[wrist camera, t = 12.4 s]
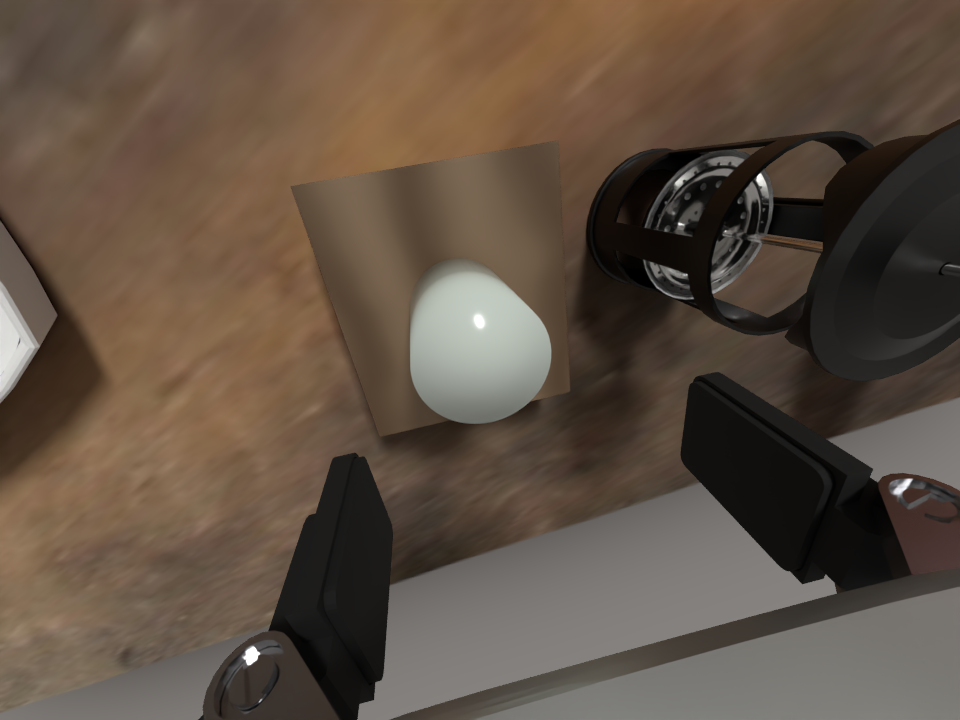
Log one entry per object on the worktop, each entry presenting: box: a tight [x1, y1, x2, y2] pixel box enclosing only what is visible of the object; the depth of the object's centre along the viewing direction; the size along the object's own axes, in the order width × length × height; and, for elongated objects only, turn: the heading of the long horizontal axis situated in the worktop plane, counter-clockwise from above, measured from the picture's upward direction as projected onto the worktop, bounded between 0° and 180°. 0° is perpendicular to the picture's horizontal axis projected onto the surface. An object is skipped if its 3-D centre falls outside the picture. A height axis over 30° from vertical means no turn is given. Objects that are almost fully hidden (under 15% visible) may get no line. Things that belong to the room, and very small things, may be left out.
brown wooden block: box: [291, 141, 570, 437], centre depth 25 cm, size 14×16×5 cm
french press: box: [587, 119, 960, 381], centre depth 17 cm, size 12×9×23 cm
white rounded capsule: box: [410, 258, 551, 424], centre depth 19 cm, size 6×6×8 cm
